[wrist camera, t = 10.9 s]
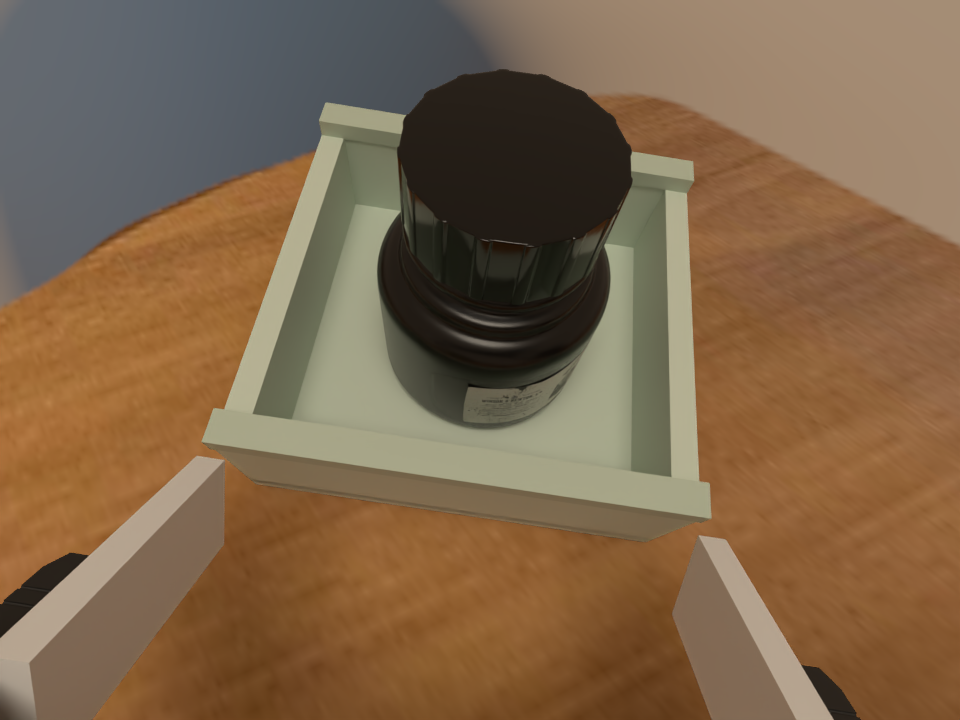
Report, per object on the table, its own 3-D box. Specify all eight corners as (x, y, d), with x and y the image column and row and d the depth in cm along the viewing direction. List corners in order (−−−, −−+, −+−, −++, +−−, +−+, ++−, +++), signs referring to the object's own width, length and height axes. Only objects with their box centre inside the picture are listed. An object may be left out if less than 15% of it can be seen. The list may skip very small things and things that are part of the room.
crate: (645, 245, 31) (692, 161, 26) (645, 544, 24) (711, 518, 19) (344, 198, 31) (325, 102, 25) (255, 486, 24) (201, 441, 18)
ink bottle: (504, 478, 24) (566, 354, 13) (342, 369, 26) (280, 179, 15) (609, 319, 28) (721, 123, 17) (463, 232, 30) (482, 4, 19)
